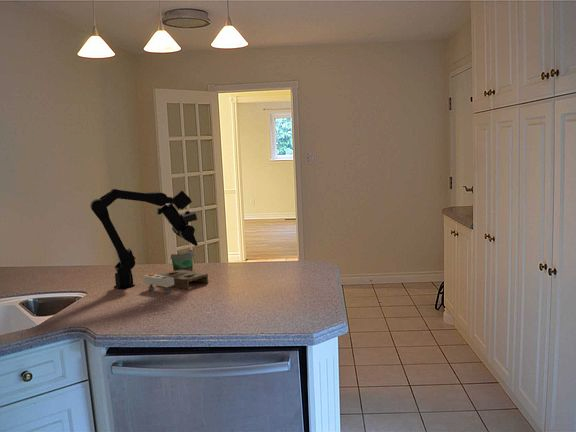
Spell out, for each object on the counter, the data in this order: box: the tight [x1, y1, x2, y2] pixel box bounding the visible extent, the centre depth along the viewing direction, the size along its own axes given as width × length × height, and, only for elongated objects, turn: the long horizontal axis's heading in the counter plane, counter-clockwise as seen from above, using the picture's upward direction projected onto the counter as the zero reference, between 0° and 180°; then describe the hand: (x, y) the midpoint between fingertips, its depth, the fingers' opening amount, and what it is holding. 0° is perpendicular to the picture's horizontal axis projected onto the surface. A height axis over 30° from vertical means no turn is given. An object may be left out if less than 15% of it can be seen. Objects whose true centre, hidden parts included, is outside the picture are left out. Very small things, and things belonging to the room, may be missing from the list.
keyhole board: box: [159, 269, 209, 290], centre depth 223 cm, size 12×18×4 cm, turn 54°
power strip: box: [142, 272, 174, 294], centre depth 212 cm, size 4×14×7 cm, turn 54°
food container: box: [170, 249, 195, 271], centre depth 240 cm, size 12×6×10 cm, turn 143°
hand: (194, 243), depth 233 cm, fingers open, 9 cm apart
